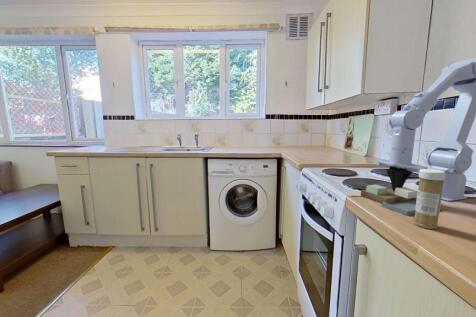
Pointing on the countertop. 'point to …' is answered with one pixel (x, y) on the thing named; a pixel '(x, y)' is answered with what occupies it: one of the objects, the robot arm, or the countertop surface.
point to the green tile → (376, 189)
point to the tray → (403, 207)
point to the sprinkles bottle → (429, 198)
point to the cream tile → (406, 192)
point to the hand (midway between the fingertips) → (396, 191)
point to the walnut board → (385, 197)
